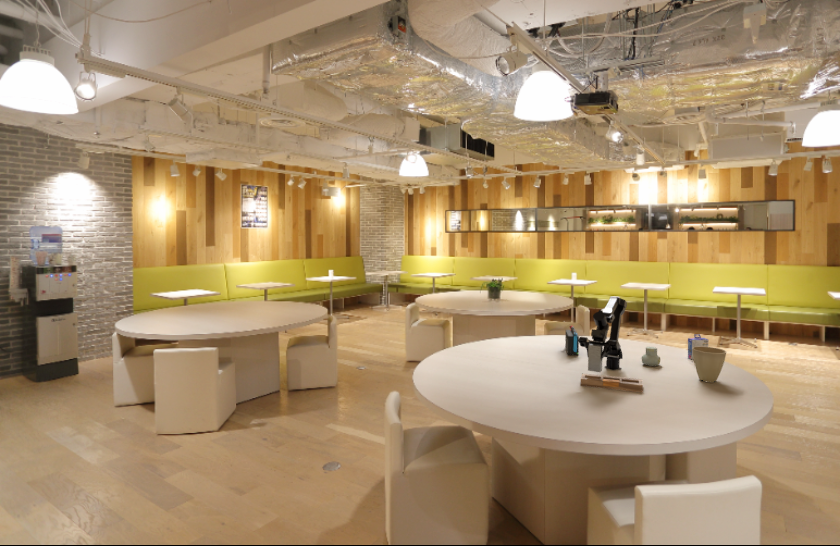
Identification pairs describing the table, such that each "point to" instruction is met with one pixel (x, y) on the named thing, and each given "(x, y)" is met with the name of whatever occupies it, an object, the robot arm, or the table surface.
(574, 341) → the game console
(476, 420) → the table surface
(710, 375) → the plant pot
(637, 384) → the slot rack
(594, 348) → the gray rectangular block
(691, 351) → the ink cartridge box
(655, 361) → the air freshener
